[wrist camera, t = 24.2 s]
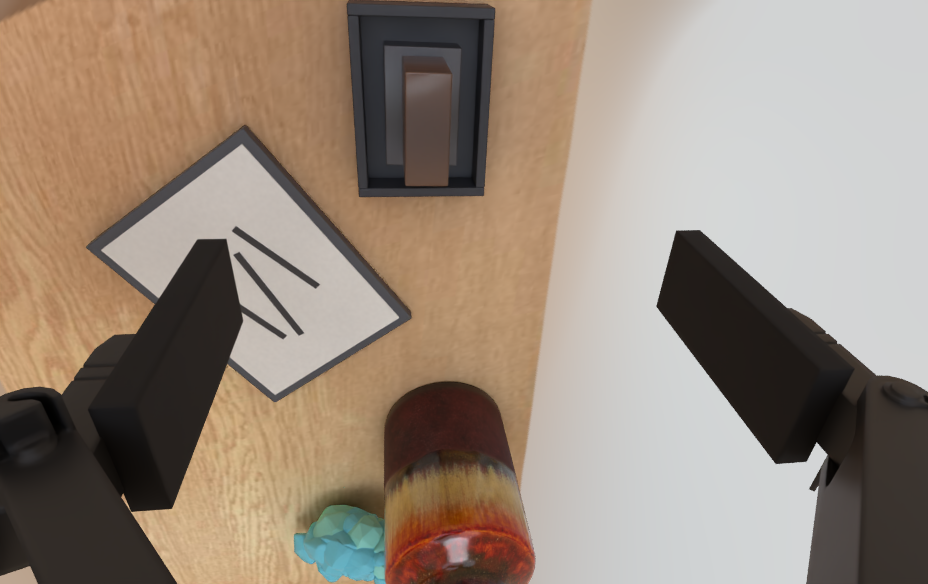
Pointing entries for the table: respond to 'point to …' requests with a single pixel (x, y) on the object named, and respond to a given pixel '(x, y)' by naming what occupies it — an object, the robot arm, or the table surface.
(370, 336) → the whiteboard
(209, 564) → the table surface
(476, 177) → the tray
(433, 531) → the vase
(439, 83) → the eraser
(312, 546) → the light blue toy tree
